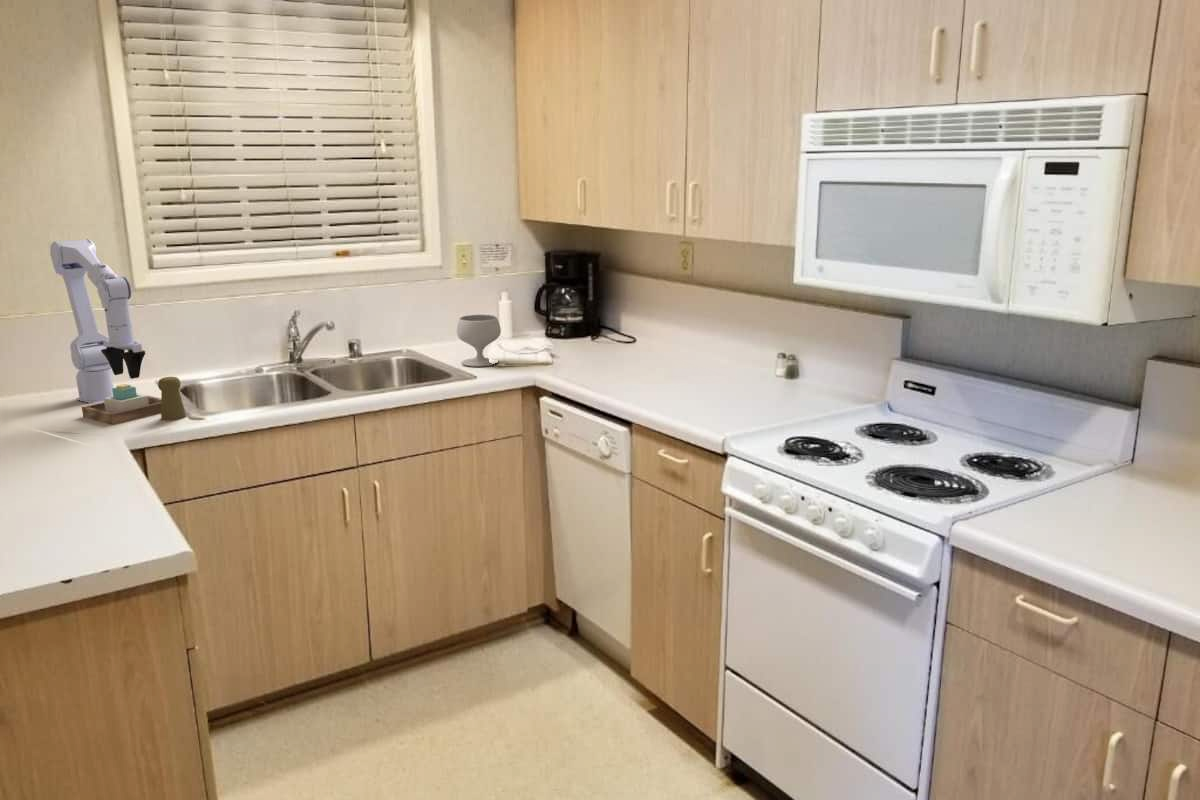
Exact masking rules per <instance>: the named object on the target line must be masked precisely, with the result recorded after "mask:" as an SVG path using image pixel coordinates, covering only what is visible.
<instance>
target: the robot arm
mask: <svg viewBox="0 0 1200 800" xmlns="http://www.w3.org/2000/svg"><path fill="white" fill-rule="evenodd" d="M49 248H50V250H49V256H50V257H51V262H52V266H53V268H54V271H55V273H56V275H60V276H62V278H63V282H64V284H65V288H66V292H67V295H68V296H67V297H68V299H69V302H70V307H71V311H72V314H73V318H74V322H75V325H76V329H77V336H76V337H75V338H74V339H73V340H71V343H70V345H69V347H70V353H71V354H70V357H71V361H72V364H73V366H74V367H75V369H77V370H78V371H77V373H76V376H75V378H76V379H75V380H76V385H77V392H78V397H77V398H76V399H75V400H77V401H79V400H80V401H79V402H83V401H84V403H87V402H88V404H92V405H94V404H98V403H102V402H104V398H107V397H111V396H113V391H112V388H114V383H113V375H114V376H118V375H123V374H124V362H125V365H126V369H127V373H128V376H129V378H130V379H131V380H132V379H137V378H140V374H141V367H142V363H143V359H144V357H145V356H146V351H145V350H143V347H142V343H139V342H137V341H136V340H135V337H134V331H133V325H132V323H133V322H132V318H131V310H130V303H129V300H131V298H132V287H131V284H130V282H129V280H128V278H127V277H126V276H118V275H117V274H116V273H115V272H114V271H113V270H112V268H111V267H110V266H109V265H107V264H106V263H105V262H100V260H99V259H98V257H97V254H98V253H97V248H96V245H95V243H94V242H93V241H92V240H91V239H89V238H86V239H79V240H64V241H61V240H60V241H57V240H56V241H55V240H54V241H52V242H51V244H50V247H49ZM85 274H87V278H88V279H89V280H90V282H91V283H92V284H93V285H94V286H95V288H96V289H97V293H98V298H100V299H99V300H100V302H101V303H100V304H101V306H102V308H103V309H104V314H105V320H106V328H107V334H108V336H107V335H105V334H103V333H101V332H100V331H99V329H98V326H97V321H96V318H95V315H94V314H95V313H94V311H93V306H92V303H91V299H90V295H89V292H88V287H87V283H86V281H85ZM112 374H113V375H112Z"/></svg>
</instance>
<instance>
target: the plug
mask: <svg viewBox="0 0 1200 800" xmlns="http://www.w3.org/2000/svg"><path fill="white" fill-rule="evenodd" d="M112 391H113V398H114V399H117V400H121V401H122V400H126V399H130V398H135V397H137V394H136V393H137V387H136V386H131V384H127V383H125V384H119V385H116V386H115V387H113V388H112Z"/></svg>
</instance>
